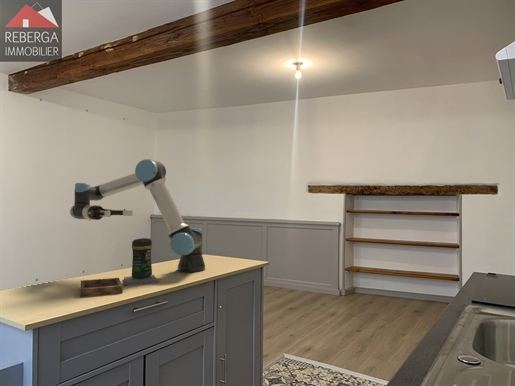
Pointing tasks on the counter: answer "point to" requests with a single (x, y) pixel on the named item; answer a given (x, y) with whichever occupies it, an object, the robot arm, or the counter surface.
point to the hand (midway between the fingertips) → (121, 213)
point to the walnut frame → (100, 290)
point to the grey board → (140, 280)
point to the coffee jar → (141, 258)
